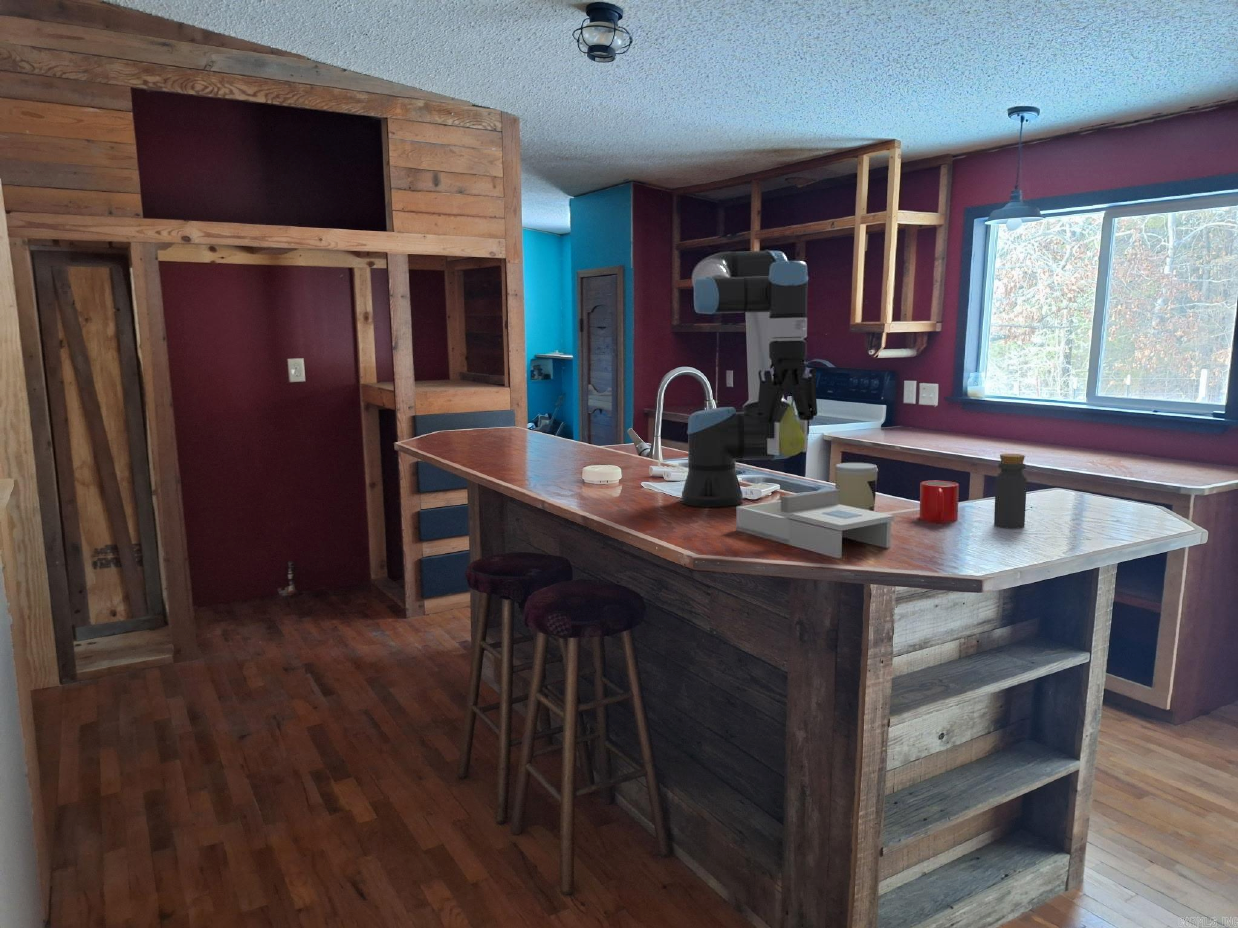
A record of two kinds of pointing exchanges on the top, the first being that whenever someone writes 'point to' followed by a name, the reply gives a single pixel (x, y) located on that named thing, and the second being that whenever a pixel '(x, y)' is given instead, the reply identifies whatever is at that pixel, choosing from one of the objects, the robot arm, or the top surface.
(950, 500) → the mug
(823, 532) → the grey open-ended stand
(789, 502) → the lid
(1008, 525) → the bottle
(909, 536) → the top surface
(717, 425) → the robot arm
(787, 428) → the fruit
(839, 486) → the coffee cup
